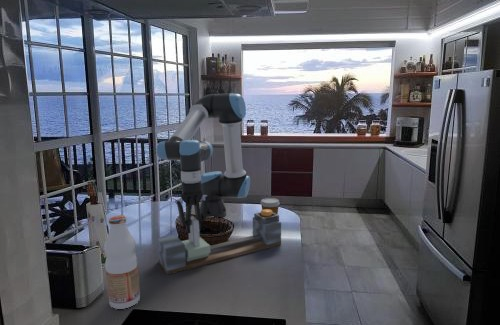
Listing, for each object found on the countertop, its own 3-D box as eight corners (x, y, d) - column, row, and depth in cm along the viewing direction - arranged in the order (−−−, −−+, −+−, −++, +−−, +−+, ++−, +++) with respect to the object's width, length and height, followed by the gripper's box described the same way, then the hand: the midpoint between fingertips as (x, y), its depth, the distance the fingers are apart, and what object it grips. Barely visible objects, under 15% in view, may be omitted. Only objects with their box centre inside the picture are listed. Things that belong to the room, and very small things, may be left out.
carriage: (179, 253, 145) (177, 217, 142) (200, 248, 149) (199, 213, 146) (188, 263, 136) (186, 225, 133) (210, 257, 141) (209, 220, 138)
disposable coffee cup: (279, 220, 185) (279, 197, 183) (279, 227, 176) (279, 203, 174) (261, 219, 186) (261, 197, 184) (260, 226, 177) (259, 203, 175)
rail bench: (158, 261, 142) (156, 231, 139) (266, 235, 166) (266, 209, 164) (167, 274, 132) (165, 242, 129) (281, 244, 156) (281, 216, 154)
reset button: (258, 215, 158) (258, 210, 158) (268, 213, 160) (268, 208, 160) (264, 218, 154) (264, 213, 153) (274, 216, 156) (274, 211, 156)
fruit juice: (112, 314, 108) (104, 225, 103) (106, 299, 116) (98, 216, 111) (144, 304, 113) (137, 219, 108) (136, 290, 121) (129, 211, 116)
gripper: (175, 185, 130) (178, 247, 135) (213, 180, 137) (215, 238, 142) (168, 181, 136) (172, 240, 141) (205, 176, 144) (208, 232, 148)
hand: (194, 239), depth 141 cm, fingers closed on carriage, 2 cm apart
